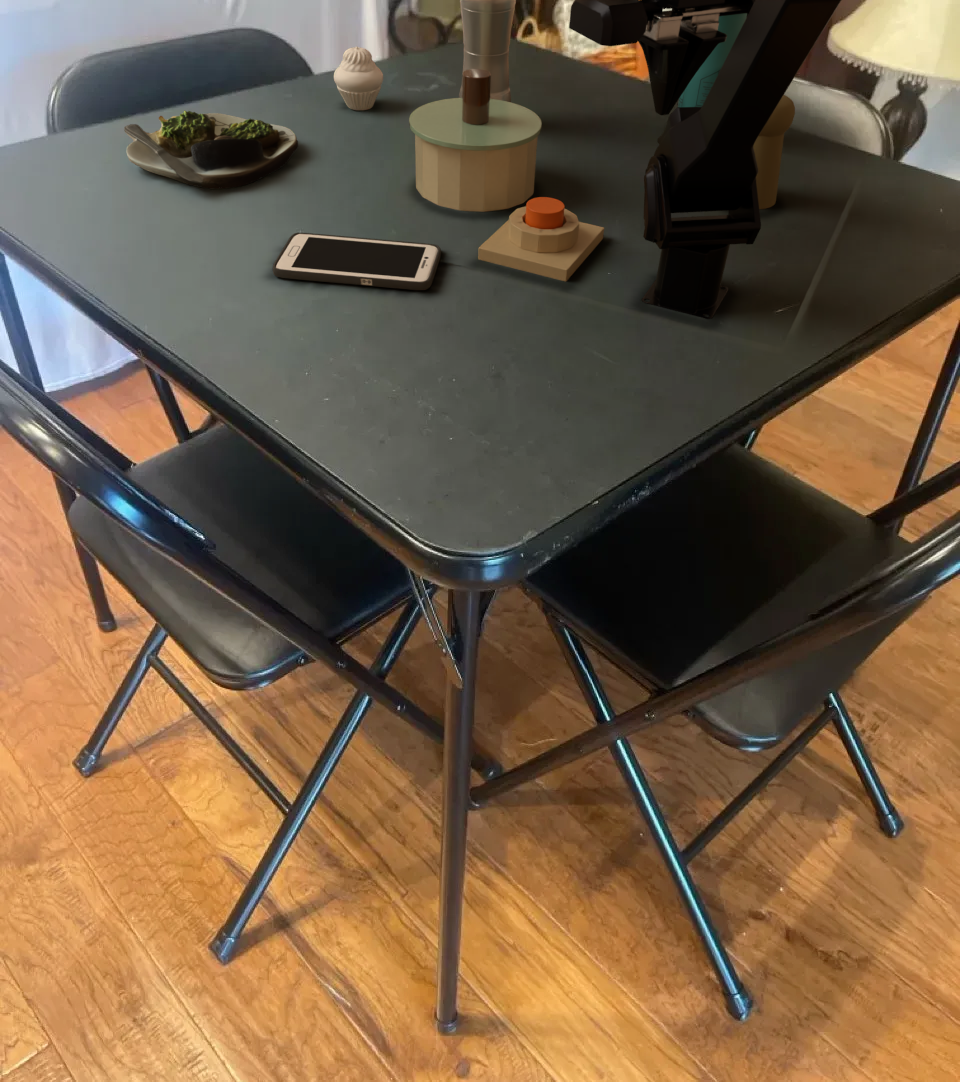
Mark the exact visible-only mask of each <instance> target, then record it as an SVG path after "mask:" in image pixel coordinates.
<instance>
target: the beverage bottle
mask: <svg viewBox="0 0 960 1082" xmlns="http://www.w3.org/2000/svg"><path fill="white" fill-rule="evenodd" d="M746 18H747V13H744V14H736V15H727V16H719V20H718V22H719V25H718V31H720V32H722V33H725V34H726V35H727V38H726V41H725V42H722V43H719V44H718V45H717V46H716V47H715V49H714V50H713V51H712V53H711V54H710V55H709V57H708V58H707V59H706V60H705V62H704V63H703V64H702V66H701V67H700V68H699V70H698V71H697V72H696V74H695V75H694V77H693V78H692V80H691V81H690V83H689V84H688V86H687V87H686V89H685V90H684V92H683V93H682V95H681V96H680V98H679V99H678V101H677V102H676V106H677V107H702V106H703V104H704V102H705V100H706V98H707V96H708V94H709V92H710V90H711V88H712V86H713V84H714V82H715V80H716V78H717V76H718V74H719V72H720V70H721V68H722V66H723V64H724V62H725V60H726V58H727V56H728V54H729V52H730V50H731V48H732V46H733V44H734V42H735V40H736V38H737V36H738V34H739V32H740V30H741V28H742V26H743V24H744V22H745V20H746Z"/></svg>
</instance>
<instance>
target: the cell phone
mask: <svg viewBox="0 0 960 1082" xmlns="http://www.w3.org/2000/svg"><path fill="white" fill-rule="evenodd" d="M441 256H442V249H441V247H440V246H439V245H438V244H433V243H425V242H416V241H402V240H392V239H379V238H370V237H369V238H368V237H358V236H357V237H356V236H346V235H336V234H323V233H314V232H313V233H312V232H295V233H292V234H291V235H290V237H289V238H288V240H287V241H286V243H285V244H284V245H283V248H282V249H281V251H280V252H279V254H278V256H277V257H276V259H275V260H274V262H273V263H272V264H273V265H272V273H273V275H274V276H275V277H277V278H281V279H291V280H302V281H312V282H322V283H323V282H325V283H335V284H344V285H345V284H346V285H354V286H355V285H356V286H366V287H367V286H369V287H376V288H377V287H380V288H388V289H389V288H390V289H400V290H411V291H426V290H428V289H429V288H430V287H431V286H432V285H433V282H434V278H435V276H436V273H437V269H438V266H439V263H440V260H441Z"/></svg>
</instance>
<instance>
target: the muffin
mask: <svg viewBox="0 0 960 1082" xmlns="http://www.w3.org/2000/svg"><path fill="white" fill-rule="evenodd" d="M333 80H334V83H335V85H336V88H337V91H338V92H339V94H340V96H341V98H342V99H343V101H344V103H345V105H346V107H347V108H348V109H350V110H353V111H367V110H370V109H372V108H373V107H374V105H375V103H376V100H377V98H378V95H379V94H380V91H381V89H382V84H383V81H384V74H383V71H382V70H381V69H380V68H379V66H377V65H376V63H375V62H374V60H373V55H372V53H371V52H370V51H369V50H368V49H367V48H365V47H361V46H360V47H359V46H357V45H356V46H353V47H349V48H348V49H346V50H345V51H344V52H343V55H342V60H341V62H340V64H339V66H338V67H337V68H336V69H335V71H334V73H333Z"/></svg>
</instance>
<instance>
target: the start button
mask: <svg viewBox="0 0 960 1082" xmlns="http://www.w3.org/2000/svg"><path fill="white" fill-rule="evenodd" d="M525 206H526V217H525V223H526V224H527V225H528V226H530V227H533V228H538V229H556V228H559V227H562V225H563V218H564V208H565V203H564V202H562V201H561V200H559V199H557V198H553V197H549V196H548V197H547V196H539V197H533V198H531V199H529V200H527V202H526V205H525ZM565 209H566V208H565Z"/></svg>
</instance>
